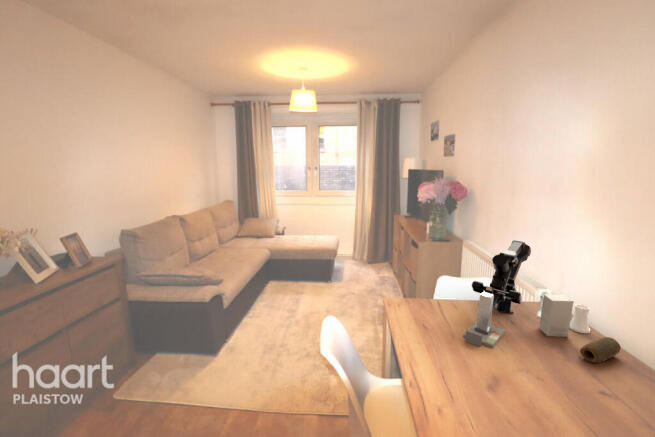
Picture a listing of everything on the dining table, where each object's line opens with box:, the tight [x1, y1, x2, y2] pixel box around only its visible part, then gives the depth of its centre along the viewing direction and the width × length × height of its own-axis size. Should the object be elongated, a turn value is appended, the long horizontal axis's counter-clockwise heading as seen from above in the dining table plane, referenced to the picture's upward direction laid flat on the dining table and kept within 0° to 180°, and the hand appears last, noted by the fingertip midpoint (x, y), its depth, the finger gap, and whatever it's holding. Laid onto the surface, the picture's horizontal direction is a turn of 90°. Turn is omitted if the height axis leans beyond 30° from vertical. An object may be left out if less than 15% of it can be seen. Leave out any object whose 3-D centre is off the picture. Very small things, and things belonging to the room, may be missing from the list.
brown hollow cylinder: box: [579, 336, 622, 364], centre depth 113 cm, size 15×7×7 cm, turn 118°
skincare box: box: [538, 293, 574, 338], centre depth 129 cm, size 8×7×16 cm
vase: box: [569, 303, 591, 334], centre depth 133 cm, size 8×8×10 cm
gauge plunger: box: [474, 291, 500, 335], centre depth 126 cm, size 5×9×15 cm, turn 47°
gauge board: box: [462, 321, 506, 349], centre depth 126 cm, size 19×11×4 cm, turn 137°
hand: (489, 309), depth 132 cm, fingers closed
